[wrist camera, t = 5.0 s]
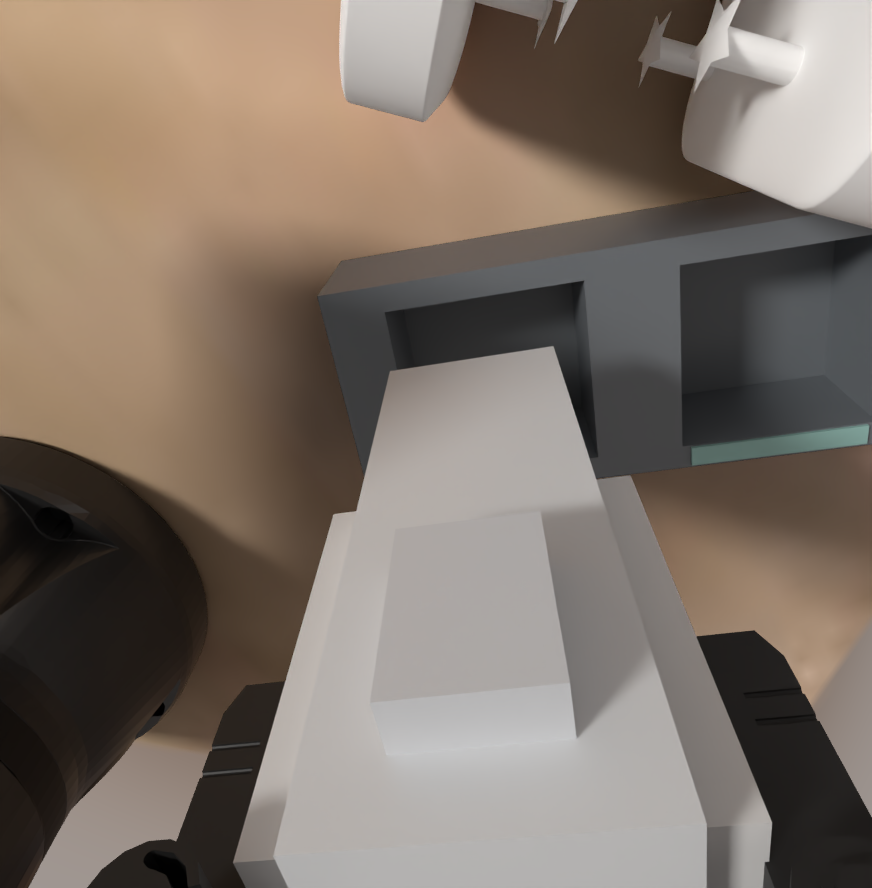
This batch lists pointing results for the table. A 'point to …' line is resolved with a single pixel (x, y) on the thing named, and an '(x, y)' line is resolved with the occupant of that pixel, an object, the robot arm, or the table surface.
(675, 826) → the plug
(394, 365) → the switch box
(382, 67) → the cable organizer
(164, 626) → the robot arm
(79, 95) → the table surface
